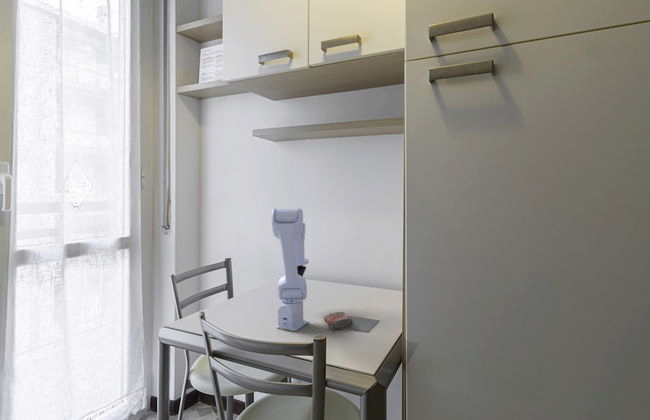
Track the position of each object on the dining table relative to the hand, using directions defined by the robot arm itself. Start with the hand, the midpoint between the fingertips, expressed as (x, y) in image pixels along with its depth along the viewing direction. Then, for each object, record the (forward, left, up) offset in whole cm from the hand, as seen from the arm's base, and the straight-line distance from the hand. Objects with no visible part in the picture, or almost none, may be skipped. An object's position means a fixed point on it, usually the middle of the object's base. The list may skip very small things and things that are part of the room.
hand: (297, 284), depth 148 cm
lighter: (-12, -24, -9) cm, 28 cm away
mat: (-4, -26, -11) cm, 28 cm away
